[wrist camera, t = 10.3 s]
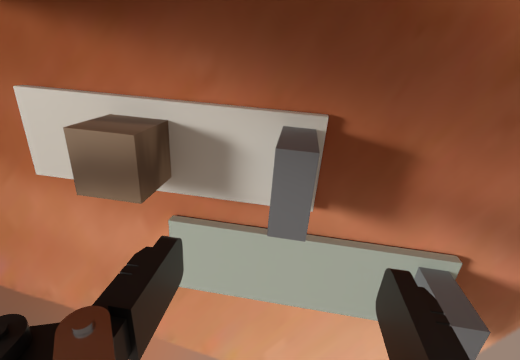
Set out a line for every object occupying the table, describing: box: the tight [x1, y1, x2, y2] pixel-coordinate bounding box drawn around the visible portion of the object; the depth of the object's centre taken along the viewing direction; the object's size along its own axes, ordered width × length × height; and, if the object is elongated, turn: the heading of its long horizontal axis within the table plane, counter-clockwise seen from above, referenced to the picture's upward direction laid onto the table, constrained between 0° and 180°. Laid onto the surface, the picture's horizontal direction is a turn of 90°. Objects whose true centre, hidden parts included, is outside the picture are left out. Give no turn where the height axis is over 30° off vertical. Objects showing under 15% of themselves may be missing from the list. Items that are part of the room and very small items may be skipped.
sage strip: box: [168, 215, 490, 360], centre depth 25 cm, size 8×26×7 cm, turn 87°
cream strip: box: [13, 85, 329, 242], centre depth 22 cm, size 8×26×7 cm, turn 87°
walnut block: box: [63, 114, 171, 204], centre depth 22 cm, size 5×5×5 cm
